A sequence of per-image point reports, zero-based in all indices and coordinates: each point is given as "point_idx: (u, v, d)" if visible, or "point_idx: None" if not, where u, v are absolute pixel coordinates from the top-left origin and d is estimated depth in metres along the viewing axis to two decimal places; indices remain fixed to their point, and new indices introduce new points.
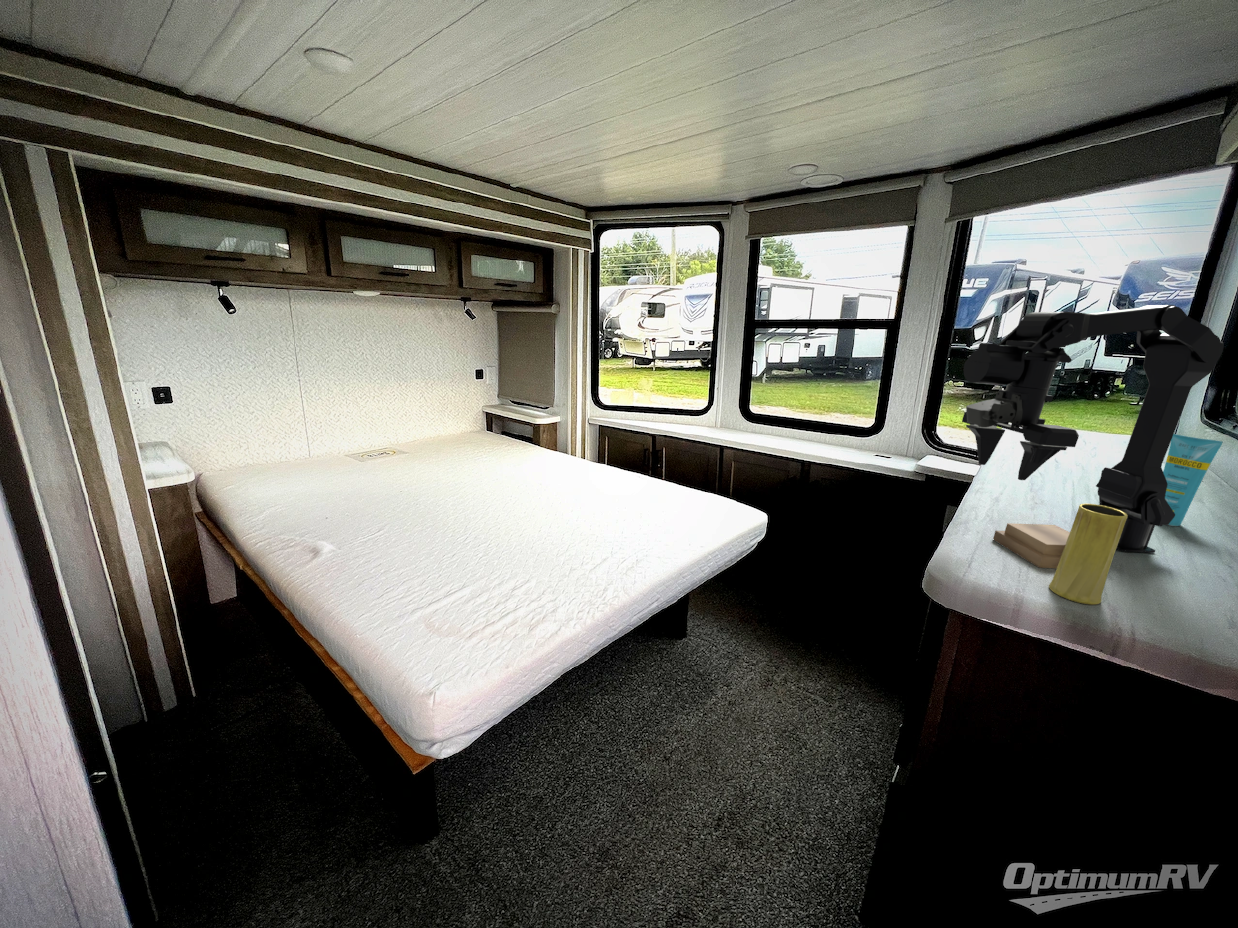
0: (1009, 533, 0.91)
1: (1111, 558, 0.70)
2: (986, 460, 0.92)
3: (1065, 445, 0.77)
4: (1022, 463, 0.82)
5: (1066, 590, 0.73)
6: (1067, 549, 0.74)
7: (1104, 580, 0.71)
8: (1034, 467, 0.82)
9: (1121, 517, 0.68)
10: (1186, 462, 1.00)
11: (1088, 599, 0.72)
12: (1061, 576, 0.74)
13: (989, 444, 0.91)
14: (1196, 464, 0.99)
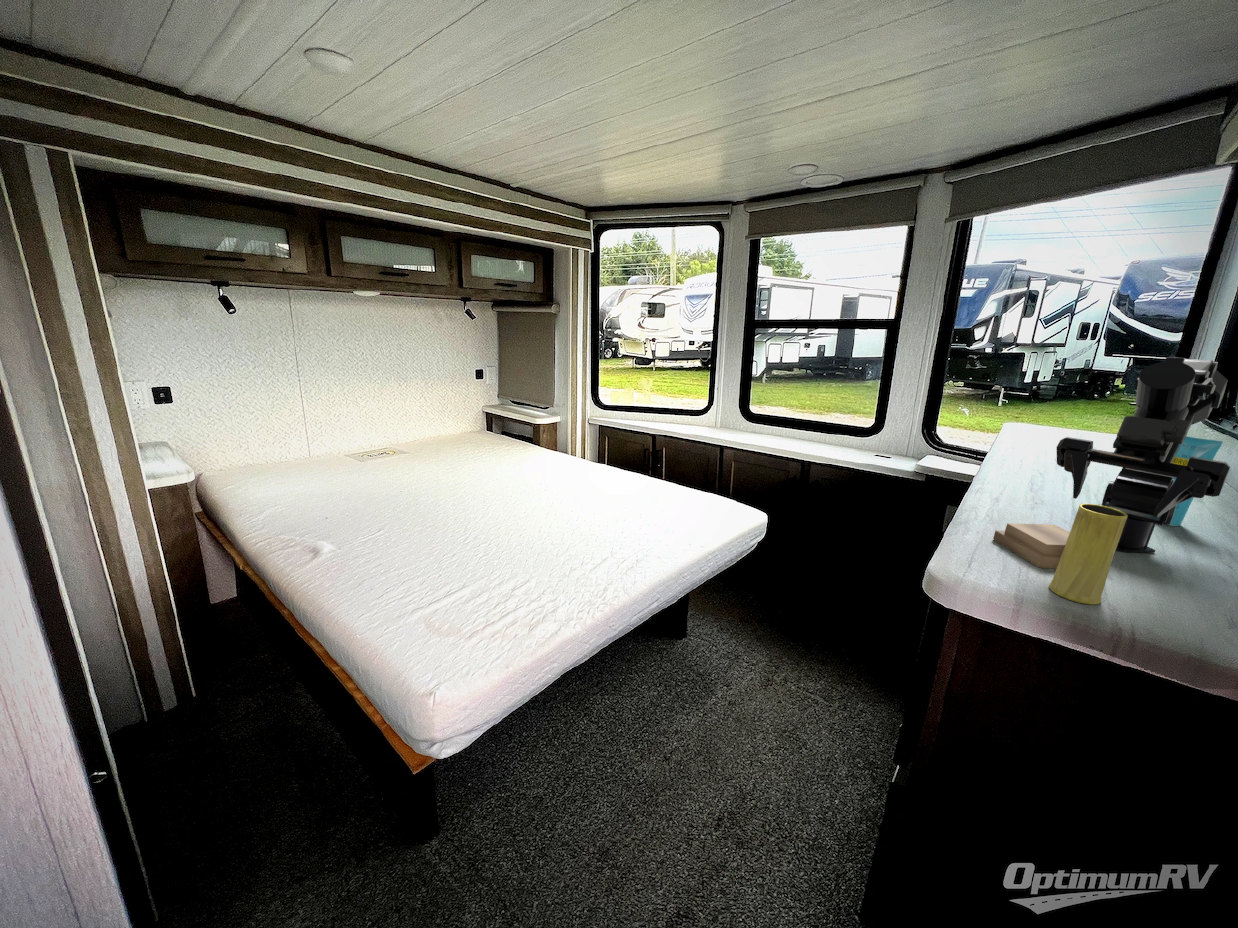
0: (1009, 533, 0.91)
1: (1111, 558, 0.70)
2: (1078, 494, 0.79)
3: (1221, 488, 0.70)
4: (1167, 496, 0.71)
5: (1066, 590, 0.73)
6: (1067, 549, 0.74)
7: (1104, 580, 0.71)
8: (1170, 506, 0.72)
9: (1121, 517, 0.68)
10: (1186, 462, 1.00)
11: (1088, 599, 0.72)
12: (1061, 576, 0.74)
13: (1083, 479, 0.80)
14: None
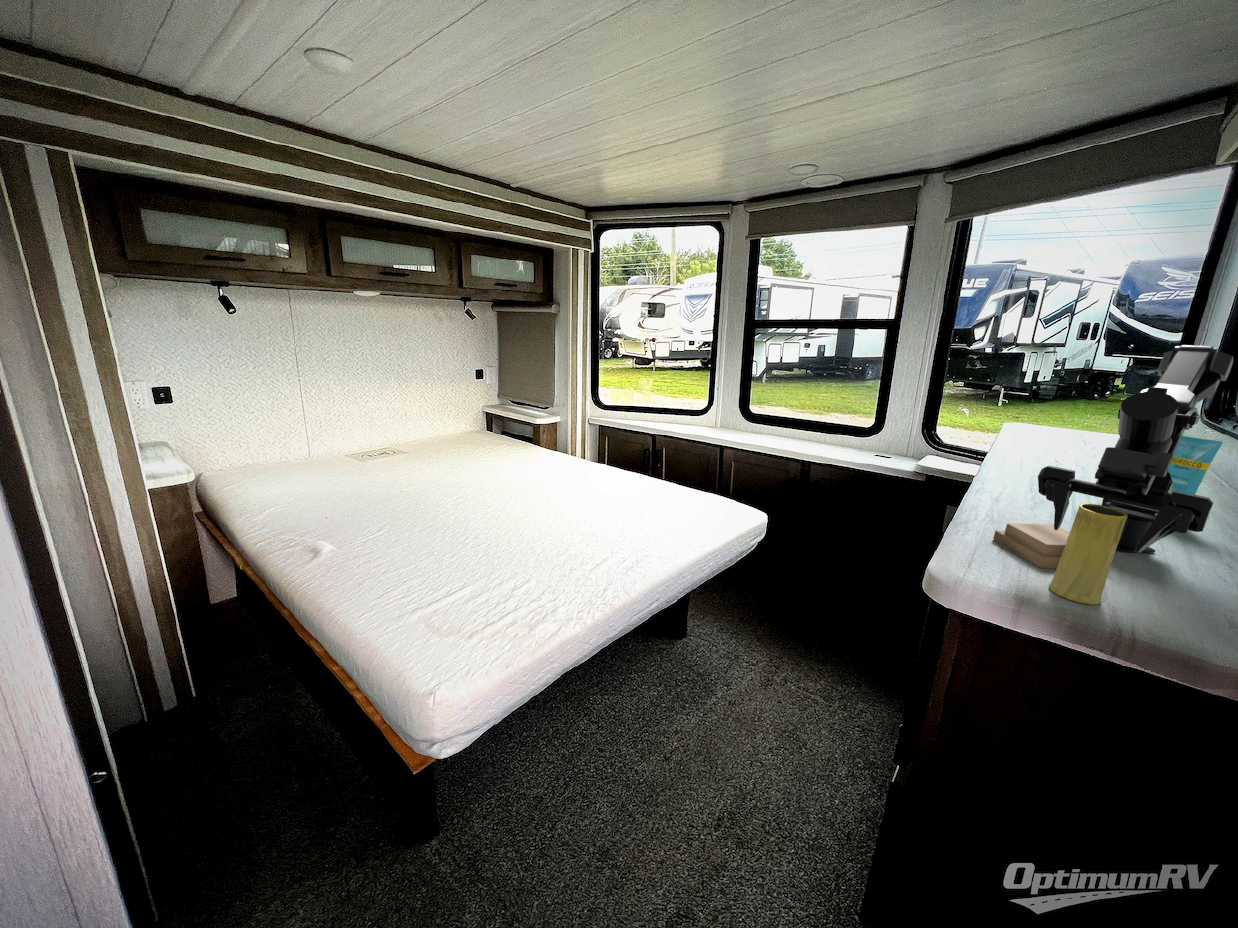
0: (1009, 533, 0.91)
1: (1111, 558, 0.70)
2: (1059, 526, 0.77)
3: (1204, 524, 0.68)
4: (1149, 531, 0.69)
5: (1066, 590, 0.73)
6: (1067, 549, 0.74)
7: (1104, 580, 0.71)
8: (1152, 541, 0.69)
9: (1121, 517, 0.68)
10: (1186, 462, 1.00)
11: (1088, 599, 0.72)
12: (1061, 576, 0.74)
13: (1064, 509, 0.78)
14: (1196, 464, 0.99)
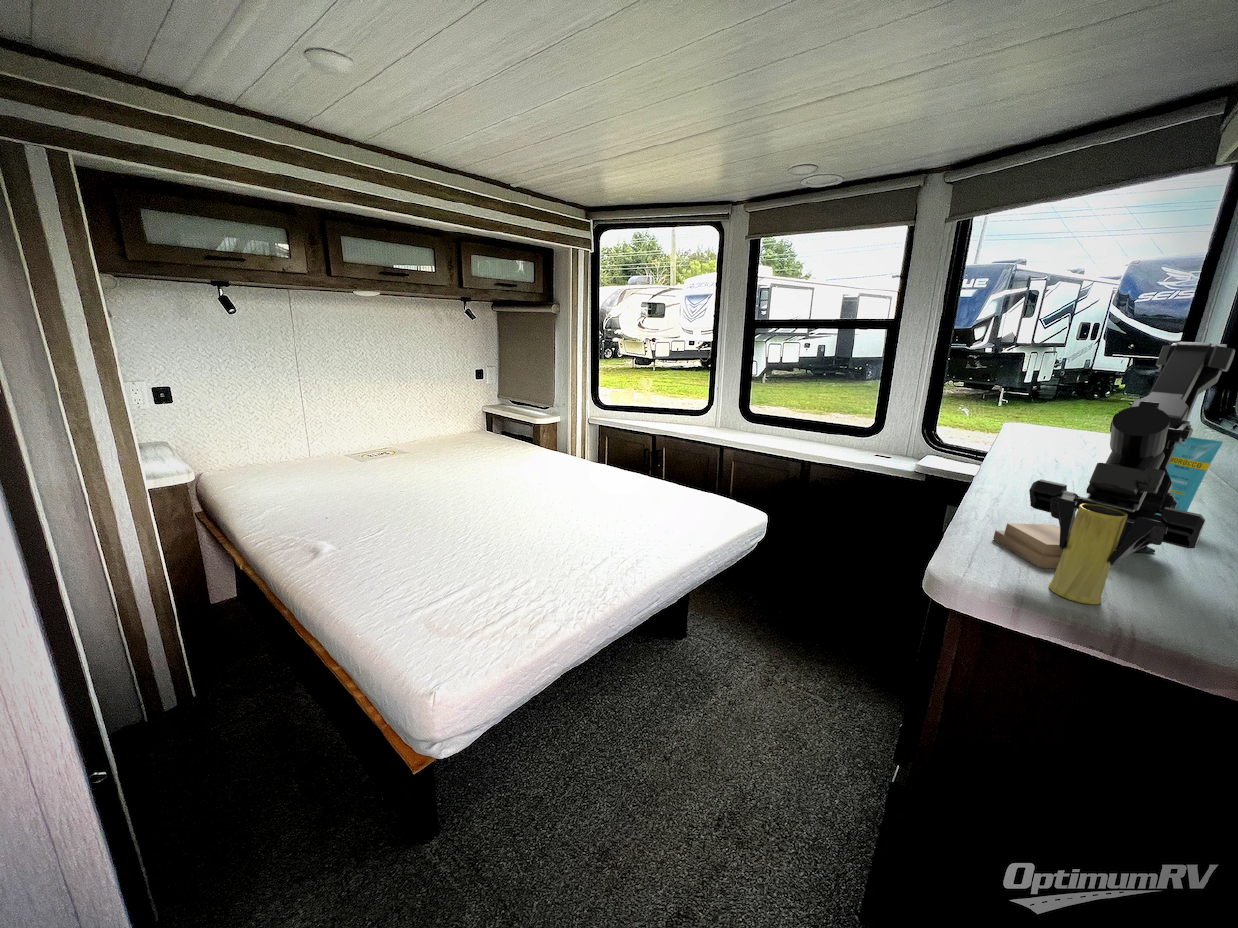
0: (1009, 533, 0.91)
1: None
2: None
3: (1196, 541, 0.67)
4: (1123, 544, 0.70)
5: (1066, 590, 0.73)
6: (1067, 549, 0.74)
7: (1104, 580, 0.71)
8: (1127, 553, 0.70)
9: (1121, 517, 0.68)
10: (1186, 462, 1.00)
11: (1088, 599, 0.72)
12: (1061, 576, 0.74)
13: (1070, 528, 0.75)
14: (1196, 464, 0.99)
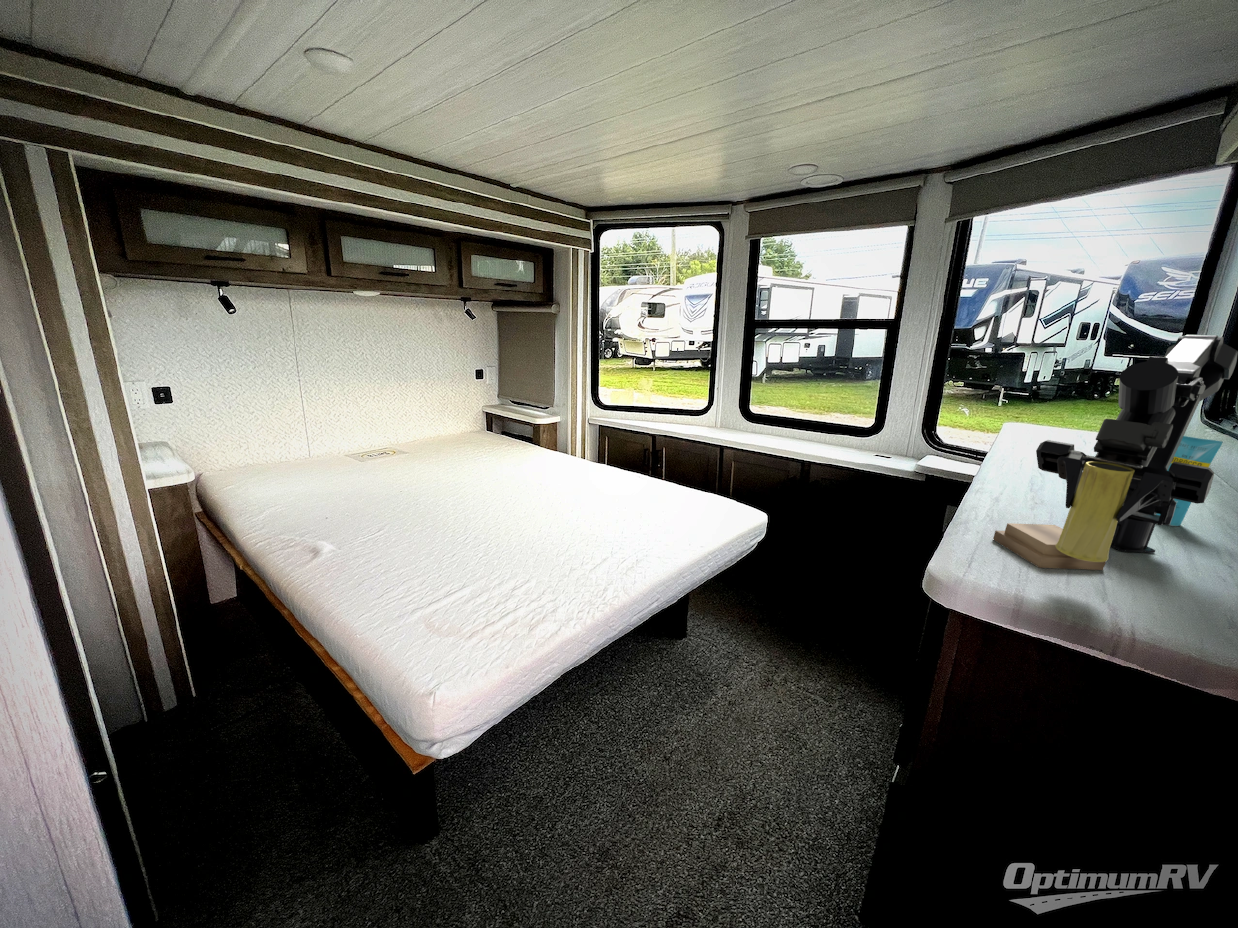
0: (1009, 533, 0.91)
1: None
2: (1071, 504, 0.75)
3: (1205, 495, 0.66)
4: (1130, 499, 0.69)
5: (1072, 548, 0.73)
6: (1073, 507, 0.73)
7: (1111, 537, 0.71)
8: (1134, 509, 0.70)
9: (1127, 472, 0.68)
10: (1186, 462, 1.00)
11: (1094, 556, 0.72)
12: (1067, 535, 0.74)
13: None
14: (1196, 464, 0.99)
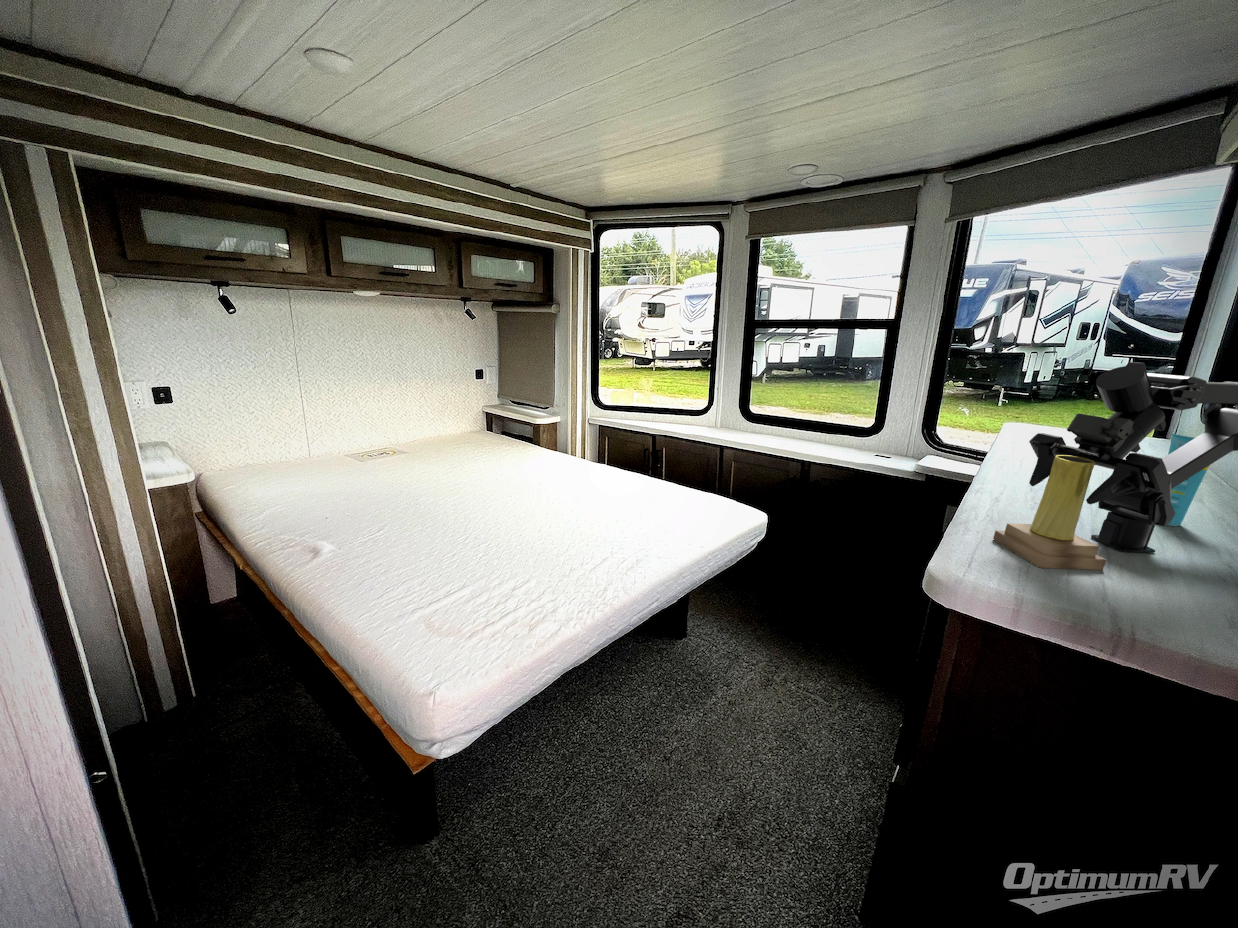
0: (1009, 533, 0.91)
1: (1077, 500, 0.82)
2: (1036, 483, 0.89)
3: (1159, 483, 0.76)
4: (1102, 486, 0.79)
5: (1038, 527, 0.87)
6: (1043, 493, 0.87)
7: (1071, 520, 0.83)
8: (1107, 495, 0.79)
9: (1083, 463, 0.81)
10: None
11: (1055, 535, 0.85)
12: (1036, 515, 0.87)
13: (1046, 470, 0.89)
14: None
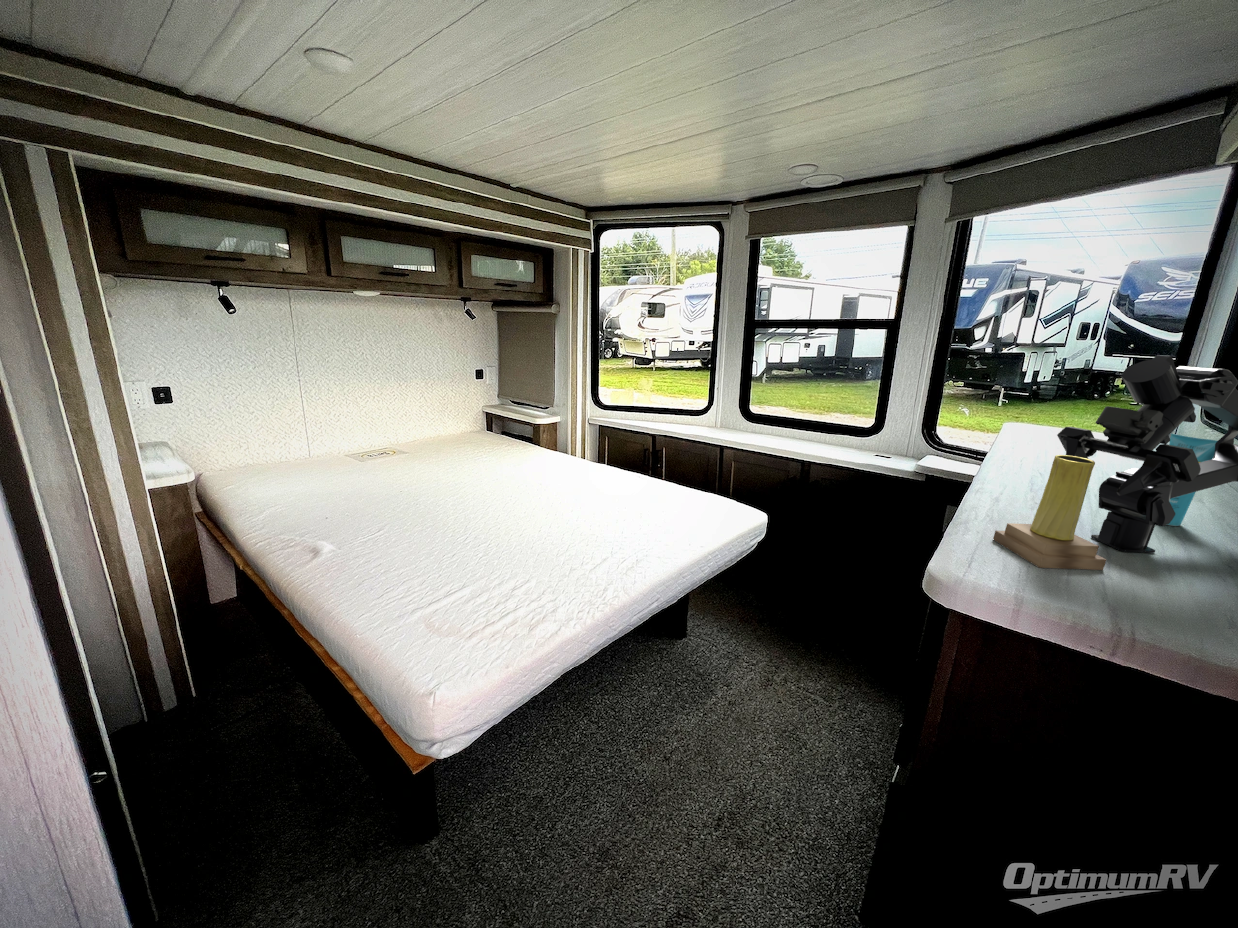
0: (1009, 533, 0.91)
1: (1077, 500, 0.82)
2: None
3: (1190, 473, 0.77)
4: (1132, 477, 0.81)
5: (1038, 527, 0.87)
6: (1043, 493, 0.87)
7: (1071, 520, 0.83)
8: (1137, 486, 0.81)
9: (1083, 463, 0.81)
10: None
11: (1055, 535, 0.85)
12: (1036, 515, 0.87)
13: None
14: None
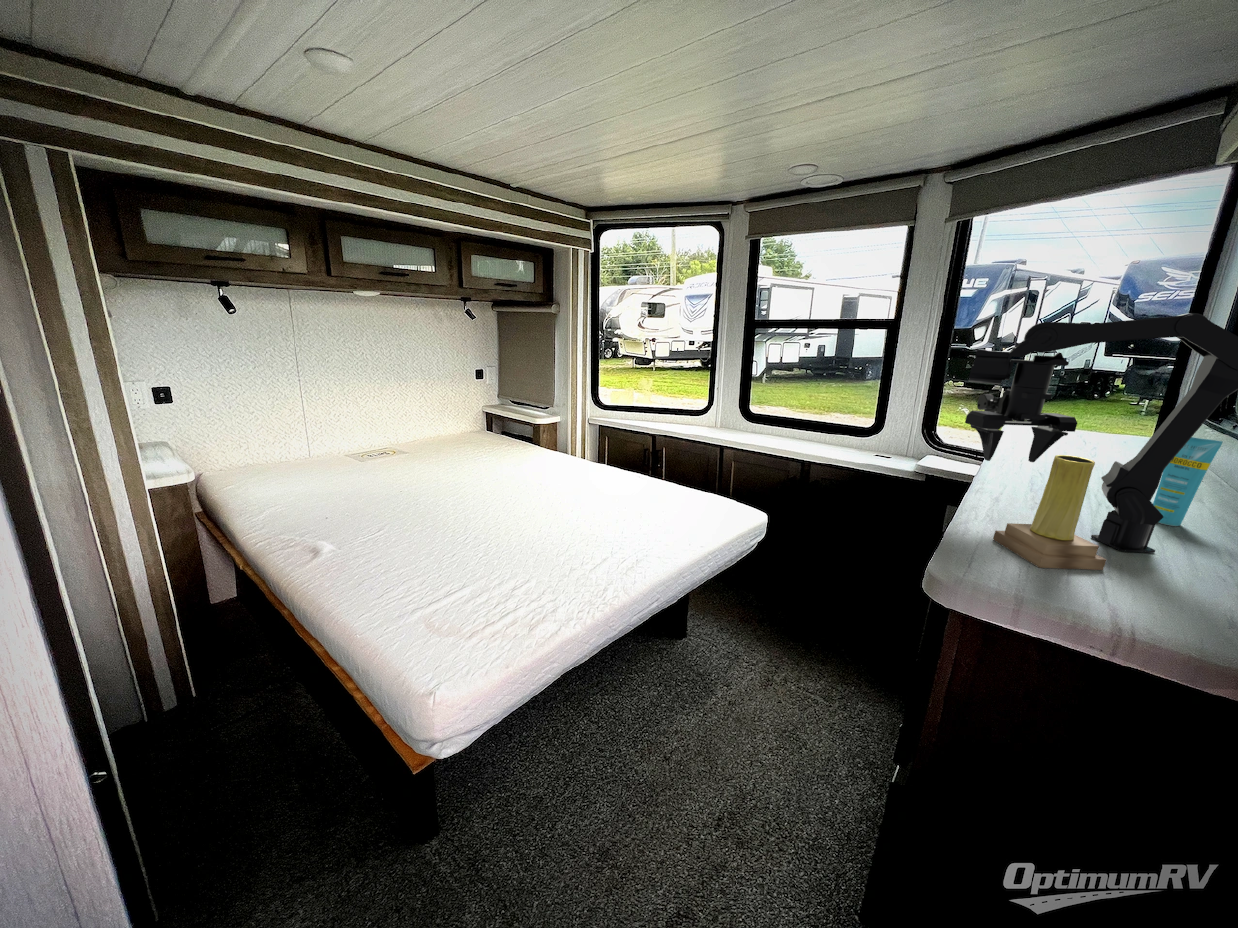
0: (1009, 533, 0.91)
1: (1077, 500, 0.82)
2: (1033, 458, 1.00)
3: (976, 425, 0.98)
4: None
5: (1038, 527, 0.87)
6: (1043, 493, 0.87)
7: (1071, 519, 0.83)
8: (988, 449, 0.99)
9: (1083, 463, 0.81)
10: (1186, 462, 1.00)
11: (1055, 535, 0.85)
12: (1036, 515, 0.87)
13: (1038, 443, 0.99)
14: (1196, 464, 0.99)
